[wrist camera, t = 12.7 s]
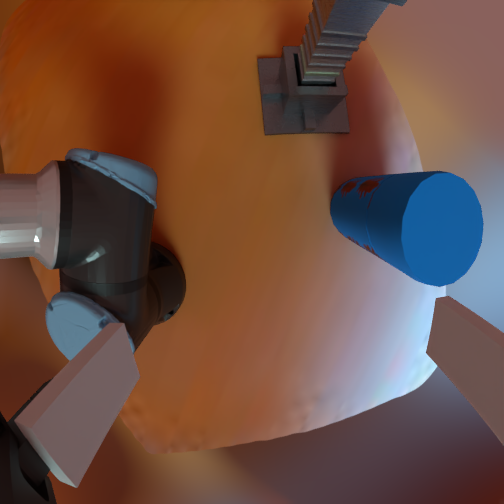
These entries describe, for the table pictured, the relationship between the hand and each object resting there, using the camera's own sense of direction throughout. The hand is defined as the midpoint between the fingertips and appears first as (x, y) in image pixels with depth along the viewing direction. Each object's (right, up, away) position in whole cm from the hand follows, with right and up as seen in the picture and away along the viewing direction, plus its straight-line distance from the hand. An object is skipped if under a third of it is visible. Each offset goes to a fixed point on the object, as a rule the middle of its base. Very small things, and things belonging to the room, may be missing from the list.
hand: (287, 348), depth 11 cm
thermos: (+17, +11, +35) cm, 40 cm away
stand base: (+7, +30, +31) cm, 44 cm away
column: (+7, +28, +22) cm, 36 cm away
